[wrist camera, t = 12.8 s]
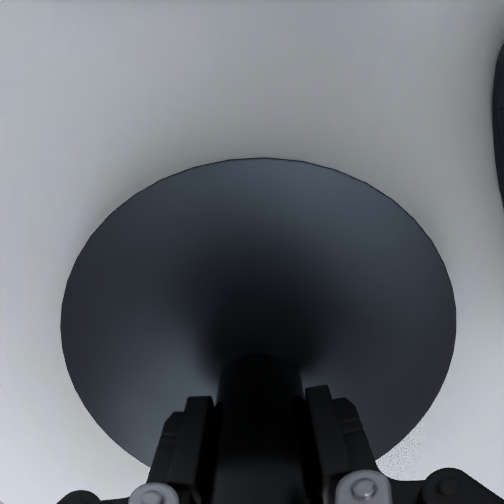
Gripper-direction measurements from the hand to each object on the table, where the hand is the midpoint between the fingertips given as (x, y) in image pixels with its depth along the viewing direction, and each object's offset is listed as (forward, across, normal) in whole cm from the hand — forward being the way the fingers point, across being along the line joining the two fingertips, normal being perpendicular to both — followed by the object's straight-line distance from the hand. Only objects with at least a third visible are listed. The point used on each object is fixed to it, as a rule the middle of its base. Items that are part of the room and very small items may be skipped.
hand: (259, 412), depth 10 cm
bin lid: (+2, 0, 0) cm, 2 cm away
